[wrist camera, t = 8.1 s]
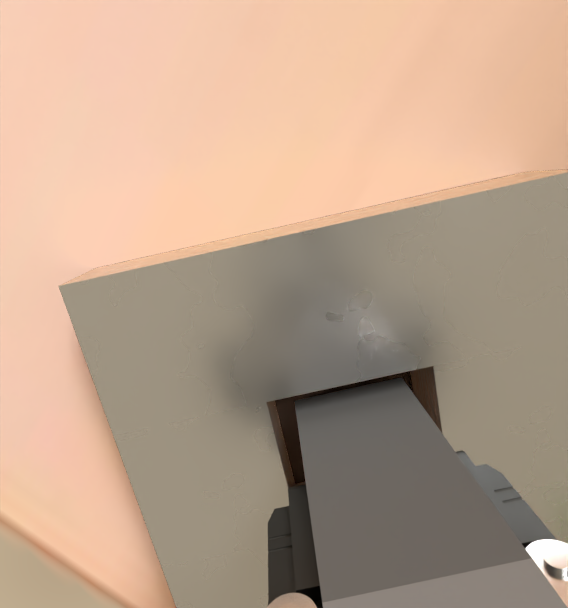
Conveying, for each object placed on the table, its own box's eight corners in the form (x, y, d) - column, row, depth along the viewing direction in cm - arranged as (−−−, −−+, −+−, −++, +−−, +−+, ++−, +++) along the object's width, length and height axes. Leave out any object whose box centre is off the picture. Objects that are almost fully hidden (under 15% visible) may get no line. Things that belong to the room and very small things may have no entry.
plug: (294, 400, 16) (329, 658, 7) (401, 377, 16) (568, 607, 7) (315, 491, 17) (369, 811, 8) (416, 469, 17) (577, 768, 8)
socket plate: (95, 267, 16) (48, 290, 12) (526, 171, 16) (600, 167, 12) (208, 600, 20) (196, 686, 17) (549, 528, 20) (608, 601, 16)
